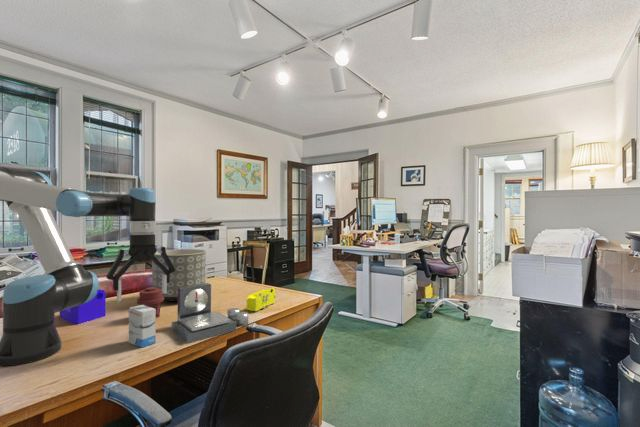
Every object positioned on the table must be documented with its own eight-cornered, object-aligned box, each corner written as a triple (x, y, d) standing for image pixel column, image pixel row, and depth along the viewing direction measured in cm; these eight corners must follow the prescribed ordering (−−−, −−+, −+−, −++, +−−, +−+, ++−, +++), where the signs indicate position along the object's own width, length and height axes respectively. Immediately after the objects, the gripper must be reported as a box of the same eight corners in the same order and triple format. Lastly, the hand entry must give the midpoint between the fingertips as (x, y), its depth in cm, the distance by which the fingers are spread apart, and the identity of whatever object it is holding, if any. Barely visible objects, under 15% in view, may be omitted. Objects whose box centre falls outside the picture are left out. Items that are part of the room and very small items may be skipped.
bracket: (105, 316, 132) (105, 288, 132) (78, 324, 122) (78, 294, 122) (75, 311, 138) (76, 285, 138) (47, 319, 128) (48, 290, 128)
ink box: (156, 342, 105) (156, 308, 105) (141, 348, 101) (141, 312, 101) (142, 337, 109) (142, 304, 110) (127, 342, 105) (128, 307, 105)
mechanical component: (169, 314, 134) (152, 322, 125) (149, 312, 136) (131, 320, 127) (169, 286, 134) (152, 291, 125) (149, 284, 136) (131, 290, 127)
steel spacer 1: (230, 322, 125) (230, 312, 125) (225, 319, 129) (225, 309, 129) (242, 319, 129) (242, 310, 129) (236, 316, 132) (236, 307, 132)
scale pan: (191, 331, 106) (191, 328, 106) (179, 321, 116) (179, 319, 116) (230, 322, 116) (230, 319, 116) (215, 313, 125) (215, 311, 125)
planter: (193, 305, 148) (193, 255, 148) (141, 305, 148) (141, 254, 148) (212, 292, 173) (212, 249, 173) (167, 291, 173) (167, 249, 173)
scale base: (186, 343, 104) (187, 299, 104) (169, 328, 118) (169, 288, 118) (236, 330, 116) (236, 290, 116) (214, 317, 131) (215, 281, 131)
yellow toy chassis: (256, 313, 137) (256, 294, 137) (246, 311, 140) (246, 292, 140) (276, 303, 152) (276, 286, 152) (266, 302, 154) (266, 285, 154)
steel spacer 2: (239, 327, 120) (239, 316, 120) (233, 323, 124) (233, 313, 124) (250, 324, 123) (250, 314, 123) (244, 320, 127) (244, 311, 127)
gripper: (99, 236, 94) (99, 306, 94) (184, 232, 111) (184, 292, 111) (96, 234, 100) (96, 301, 100) (177, 231, 116) (177, 288, 116)
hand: (142, 296), depth 105 cm, fingers open, 13 cm apart
